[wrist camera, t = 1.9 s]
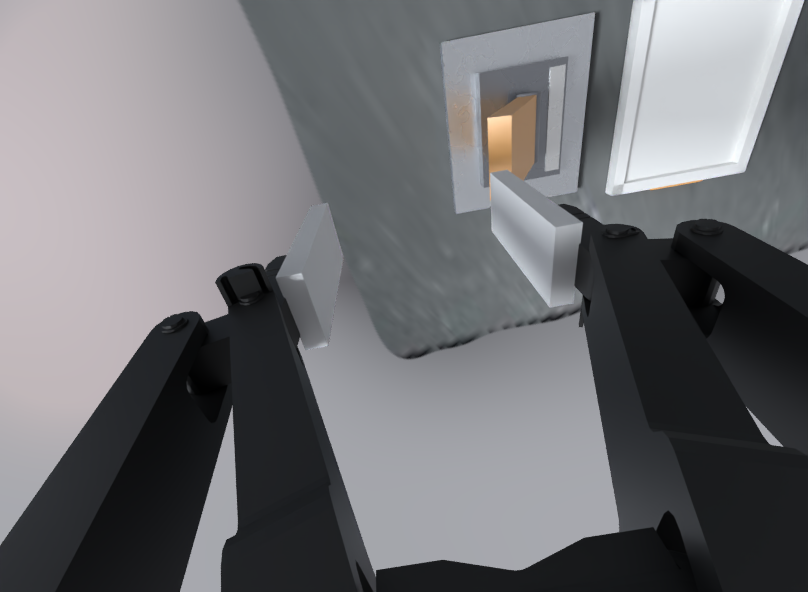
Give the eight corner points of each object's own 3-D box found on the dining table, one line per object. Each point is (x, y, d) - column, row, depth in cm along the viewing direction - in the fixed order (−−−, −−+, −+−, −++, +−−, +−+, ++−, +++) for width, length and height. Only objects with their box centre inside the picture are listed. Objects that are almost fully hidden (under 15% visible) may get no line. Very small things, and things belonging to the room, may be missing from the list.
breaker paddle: (519, 93, 28) (483, 116, 21) (542, 90, 28) (515, 112, 20) (518, 160, 31) (487, 201, 24) (539, 158, 30) (514, 201, 23)
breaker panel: (439, 43, 28) (444, 40, 26) (588, 14, 28) (605, 9, 26) (454, 210, 36) (459, 218, 34) (572, 189, 35) (584, 196, 33)
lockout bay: (634, -11, 27) (644, -15, 26) (804, -45, 27) (821, -49, 26) (604, 194, 36) (611, 197, 35) (733, 171, 36) (743, 174, 35)
